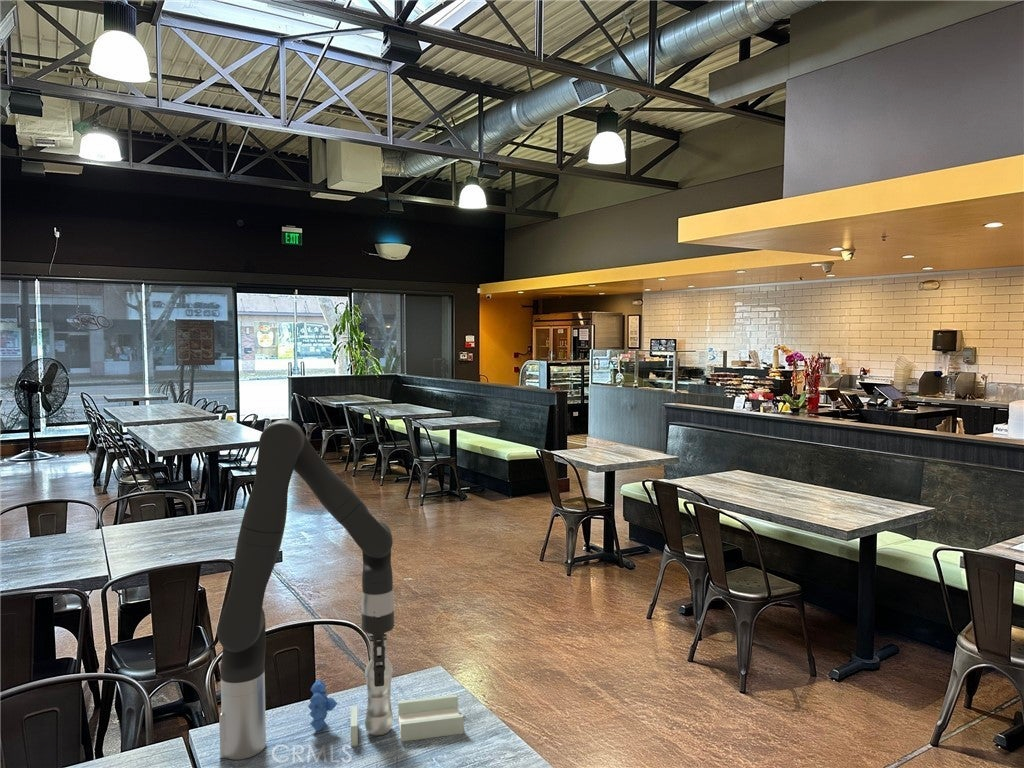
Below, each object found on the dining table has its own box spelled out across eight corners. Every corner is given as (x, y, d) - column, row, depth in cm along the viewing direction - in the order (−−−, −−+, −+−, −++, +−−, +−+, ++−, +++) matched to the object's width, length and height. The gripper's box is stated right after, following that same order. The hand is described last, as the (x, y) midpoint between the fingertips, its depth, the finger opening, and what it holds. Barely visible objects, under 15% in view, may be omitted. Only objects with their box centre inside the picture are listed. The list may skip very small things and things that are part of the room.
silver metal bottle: (359, 735, 159) (358, 651, 158) (377, 721, 165) (376, 640, 164) (381, 742, 156) (380, 656, 155) (399, 727, 162) (398, 645, 161)
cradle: (401, 741, 156) (400, 724, 156) (398, 717, 167) (398, 701, 167) (463, 733, 159) (463, 716, 159) (457, 710, 170) (456, 694, 170)
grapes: (336, 741, 156) (335, 690, 156) (305, 744, 155) (304, 693, 155) (339, 715, 168) (338, 667, 167) (310, 718, 167) (309, 670, 166)
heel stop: (350, 745, 155) (350, 726, 155) (351, 724, 163) (350, 706, 163) (357, 744, 155) (357, 725, 155) (357, 724, 164) (357, 705, 164)
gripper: (361, 599, 166) (362, 667, 166) (361, 621, 152) (362, 695, 152) (392, 597, 167) (393, 663, 168) (395, 618, 153) (396, 691, 154)
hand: (378, 678), depth 160 cm, fingers closed on silver metal bottle, 6 cm apart
